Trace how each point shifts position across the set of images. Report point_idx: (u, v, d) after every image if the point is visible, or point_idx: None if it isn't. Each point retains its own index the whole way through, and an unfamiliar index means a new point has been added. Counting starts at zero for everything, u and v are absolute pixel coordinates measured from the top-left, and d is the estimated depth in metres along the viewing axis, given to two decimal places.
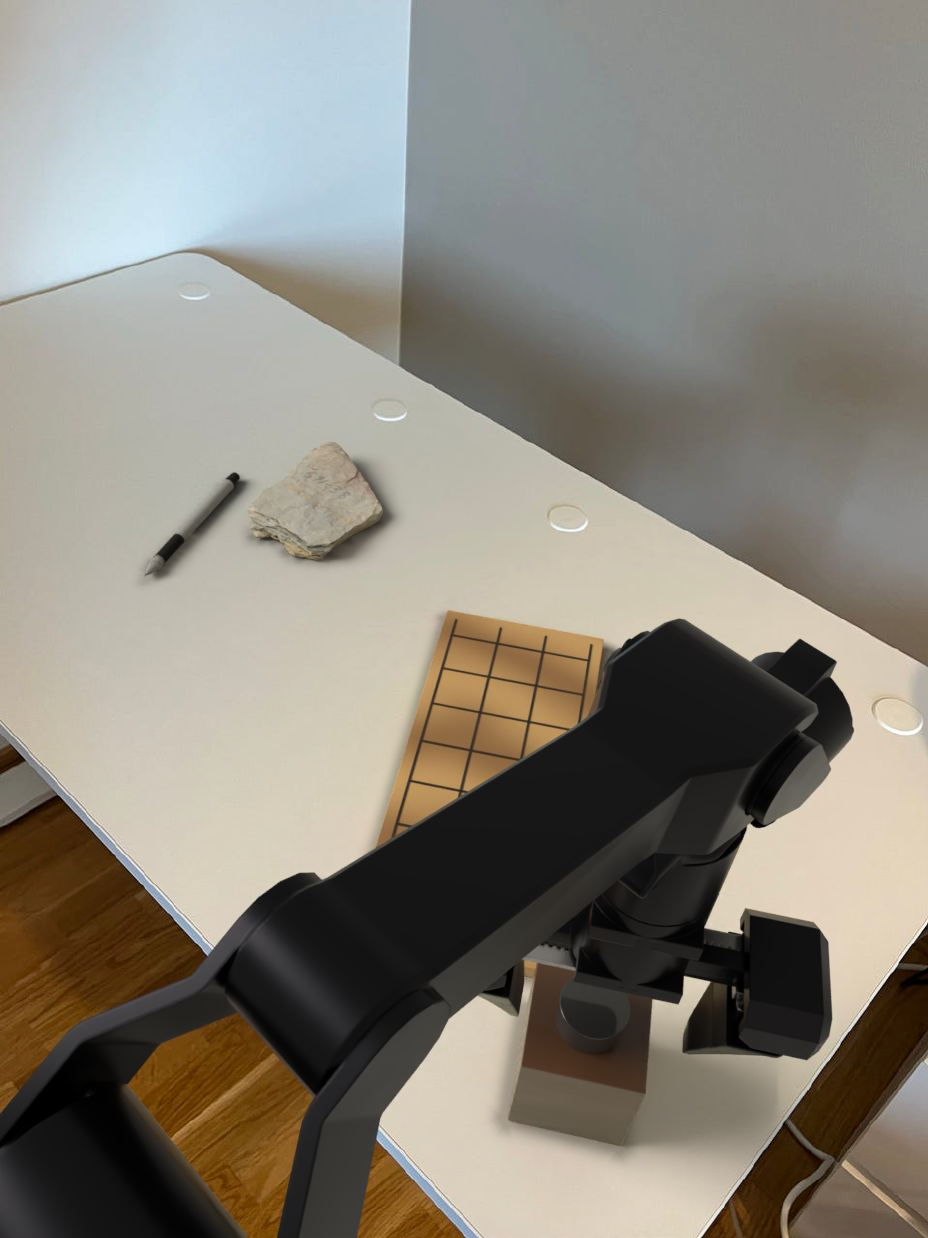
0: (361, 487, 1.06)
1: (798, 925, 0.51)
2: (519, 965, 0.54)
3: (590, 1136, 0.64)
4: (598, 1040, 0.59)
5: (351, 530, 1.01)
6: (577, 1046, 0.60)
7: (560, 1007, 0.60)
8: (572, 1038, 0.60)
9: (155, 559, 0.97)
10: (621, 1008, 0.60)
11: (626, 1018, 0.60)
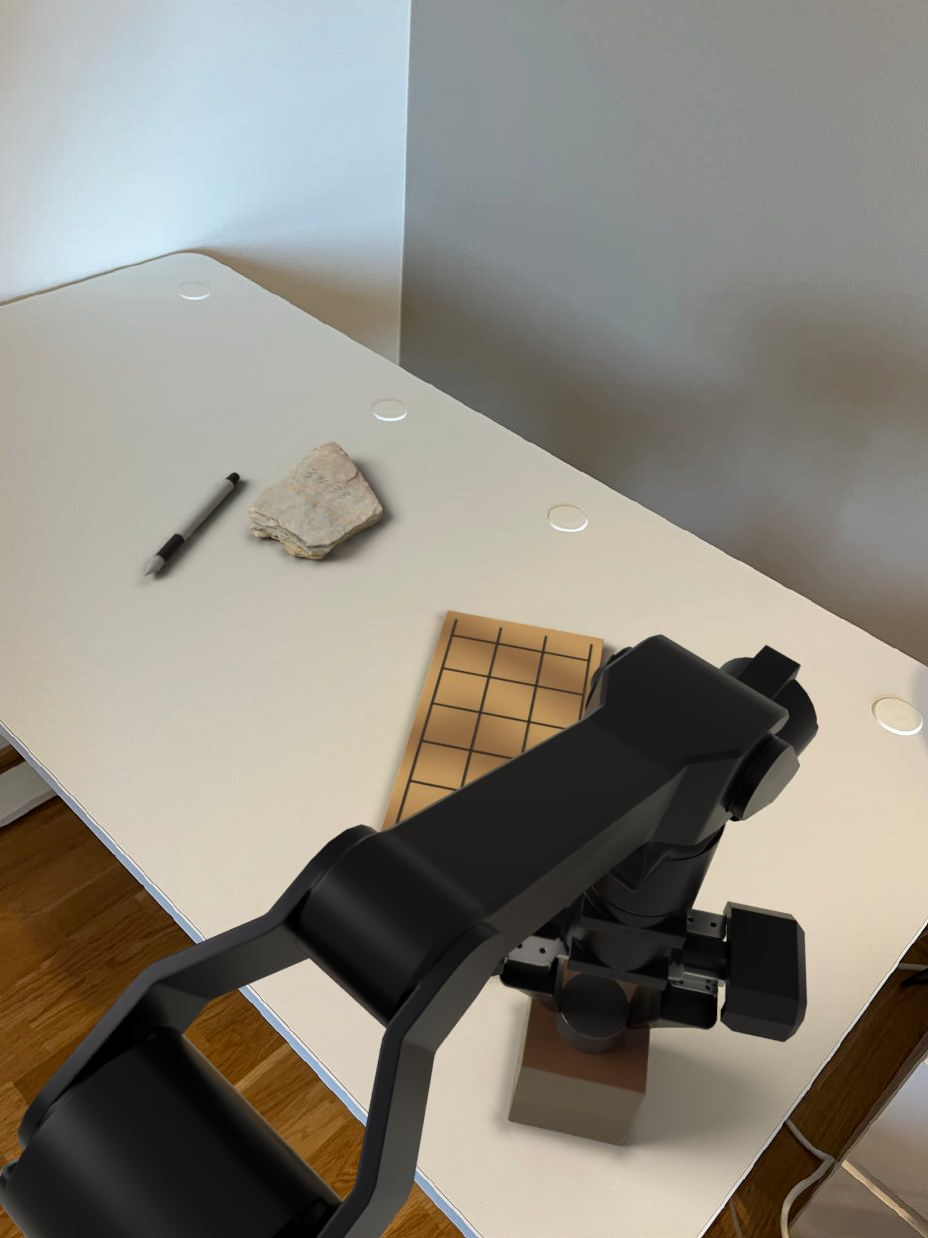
0: (361, 487, 1.06)
1: (776, 917, 0.55)
2: (560, 964, 0.58)
3: (590, 1136, 0.64)
4: (597, 1040, 0.59)
5: (351, 530, 1.01)
6: (577, 1046, 0.60)
7: (560, 1007, 0.60)
8: (572, 1038, 0.60)
9: (155, 559, 0.97)
10: (621, 1008, 0.60)
11: (626, 1018, 0.60)
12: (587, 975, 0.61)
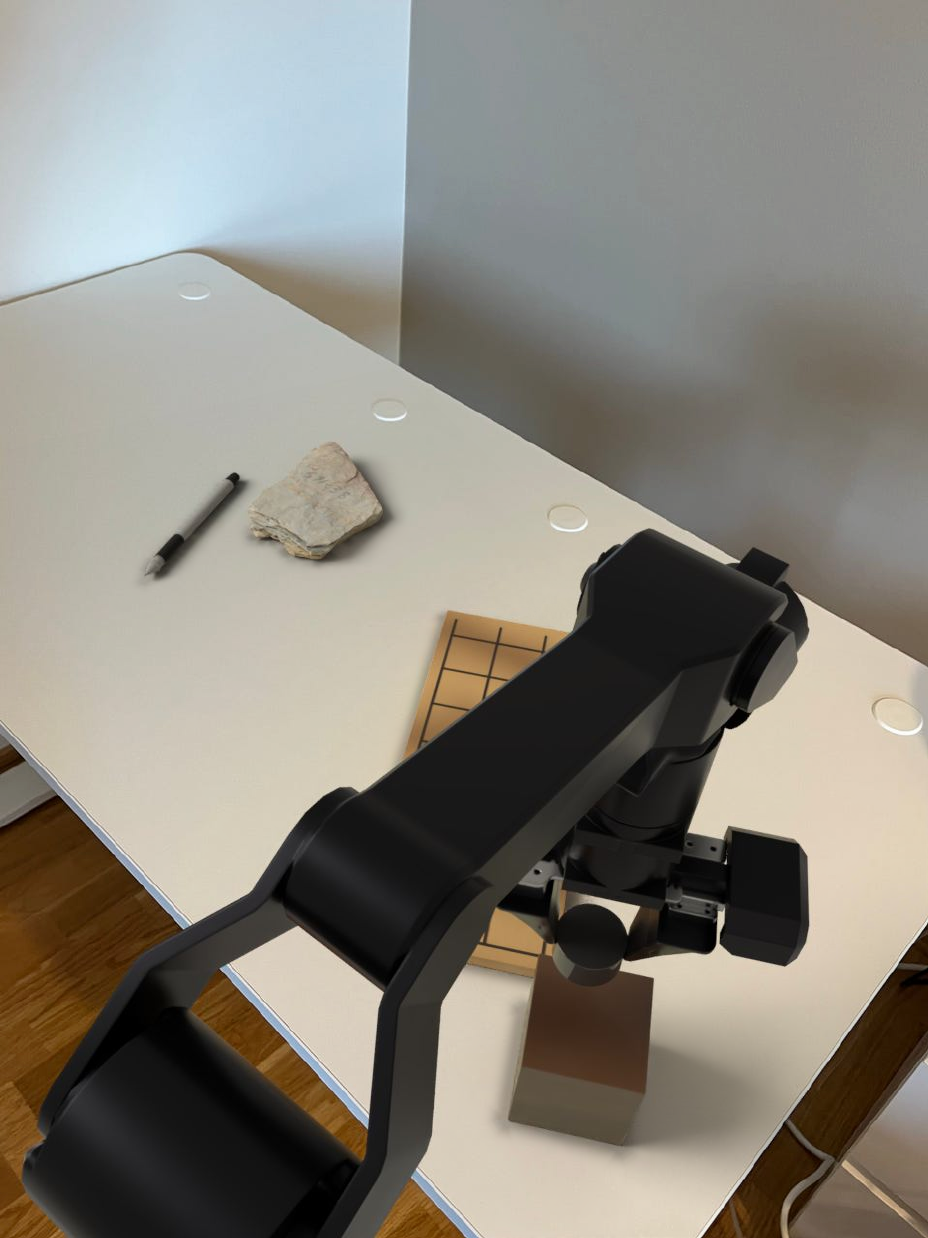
0: (361, 487, 1.06)
1: (778, 840, 0.53)
2: (556, 891, 0.56)
3: (590, 1136, 0.64)
4: (594, 971, 0.57)
5: (350, 530, 1.01)
6: (573, 978, 0.58)
7: (556, 938, 0.59)
8: (568, 969, 0.58)
9: (155, 559, 0.97)
10: (619, 939, 0.59)
11: (624, 949, 0.58)
12: (584, 907, 0.60)
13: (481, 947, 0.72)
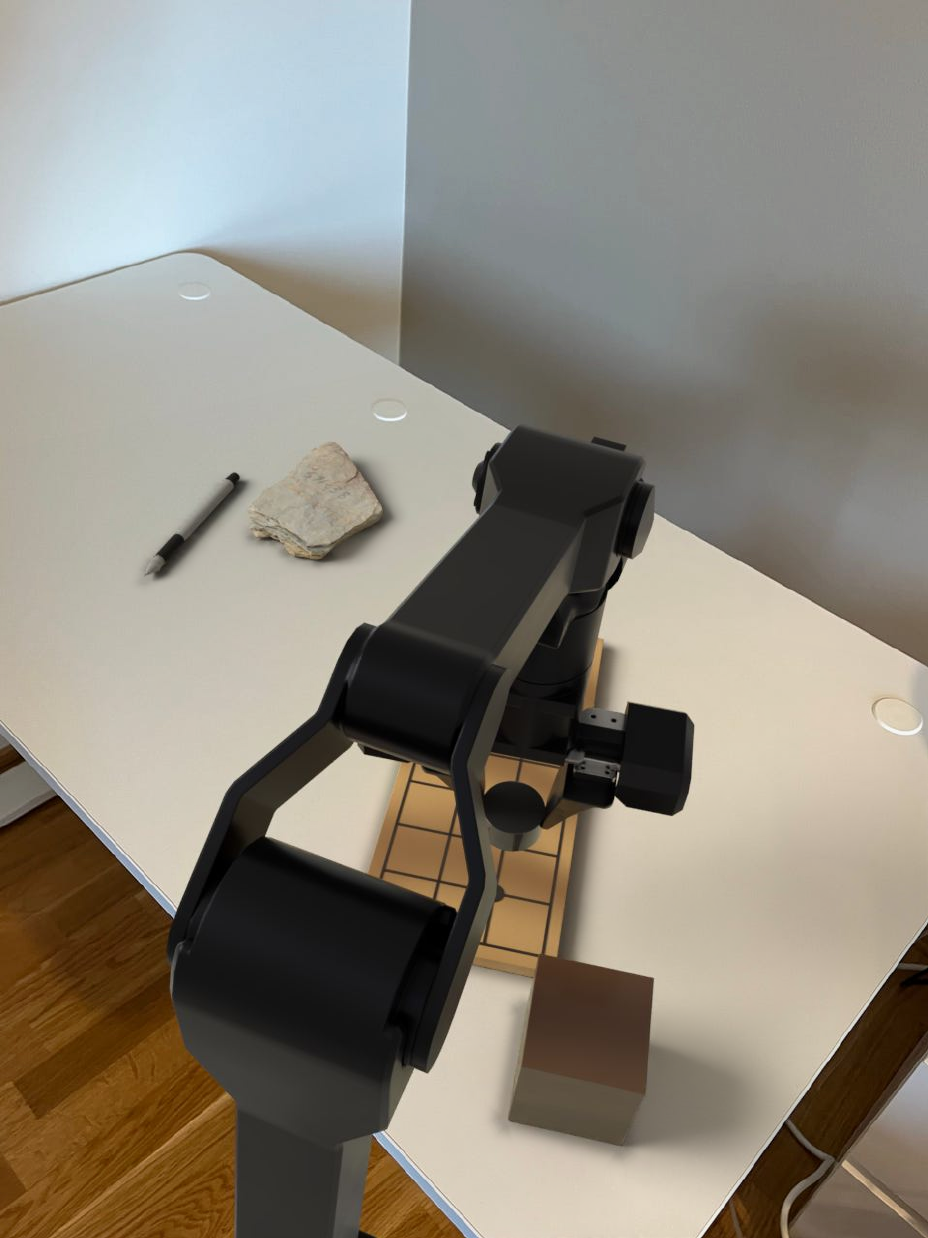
0: (361, 487, 1.06)
1: (669, 710, 0.61)
2: None
3: (590, 1136, 0.64)
4: (514, 834, 0.65)
5: (350, 530, 1.01)
6: (497, 843, 0.66)
7: None
8: (492, 835, 0.66)
9: (155, 559, 0.97)
10: (537, 809, 0.66)
11: (541, 817, 0.66)
12: (508, 783, 0.68)
13: (481, 947, 0.72)
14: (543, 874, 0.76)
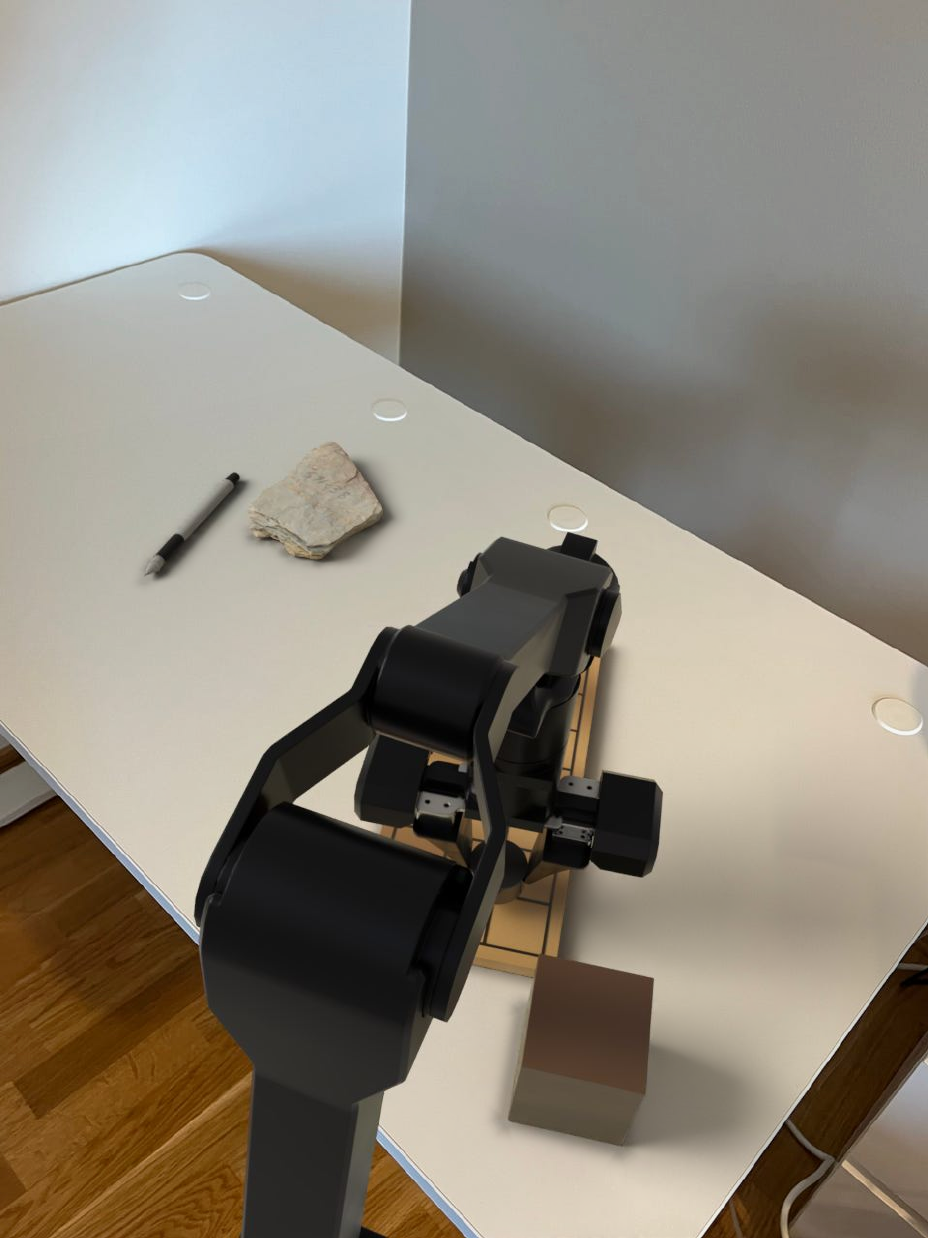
0: (361, 487, 1.06)
1: (639, 779, 0.66)
2: (466, 824, 0.69)
3: (590, 1136, 0.64)
4: (499, 890, 0.71)
5: (350, 530, 1.01)
6: None
7: (469, 865, 0.72)
8: None
9: (155, 559, 0.97)
10: (520, 865, 0.72)
11: (524, 873, 0.72)
12: None
13: (481, 947, 0.72)
14: None
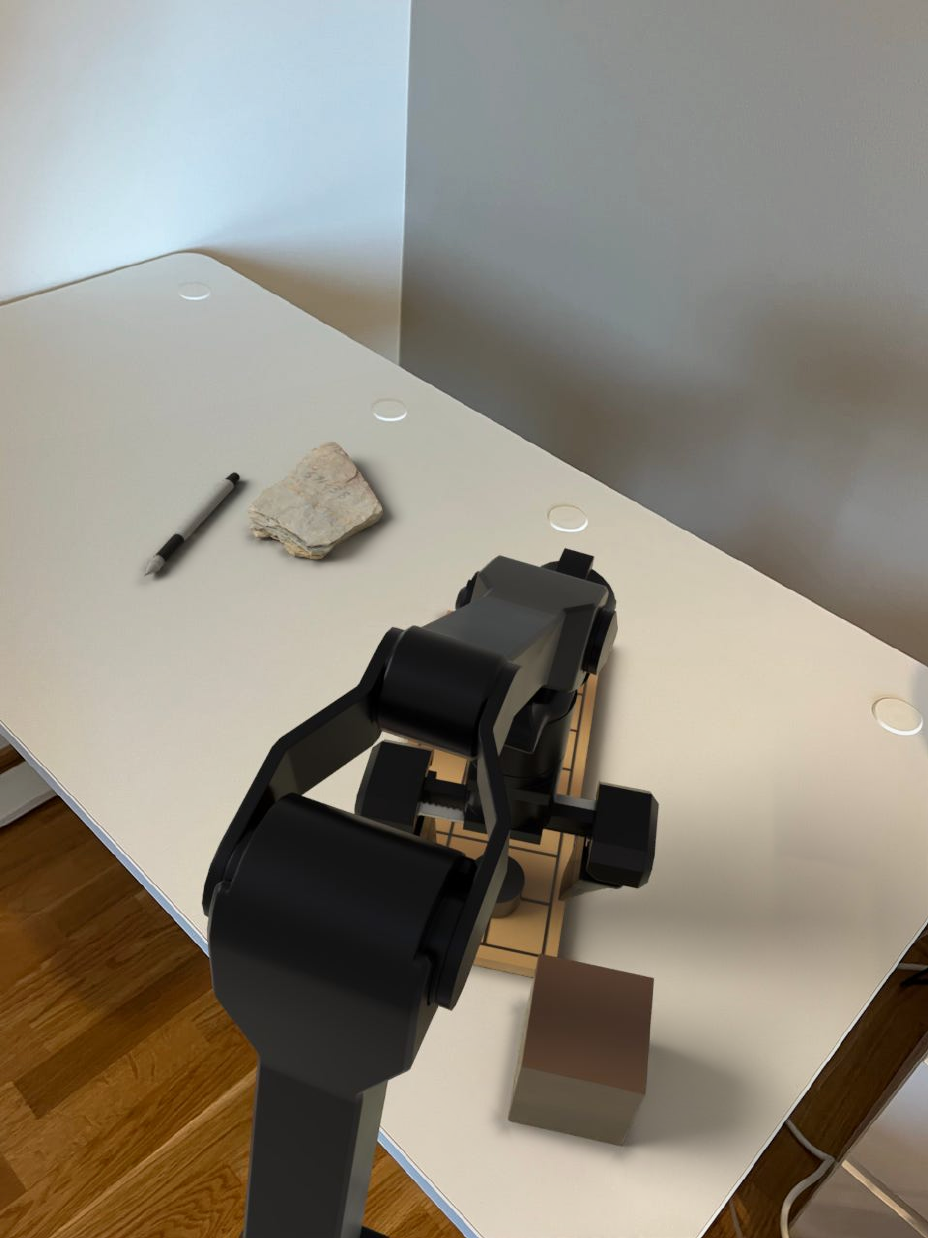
0: (361, 487, 1.06)
1: (636, 791, 0.67)
2: (429, 828, 0.71)
3: (590, 1136, 0.64)
4: (497, 904, 0.72)
5: (350, 530, 1.01)
6: None
7: None
8: None
9: (155, 559, 0.97)
10: (518, 880, 0.73)
11: (521, 887, 0.73)
12: None
13: (481, 947, 0.72)
14: (543, 874, 0.76)
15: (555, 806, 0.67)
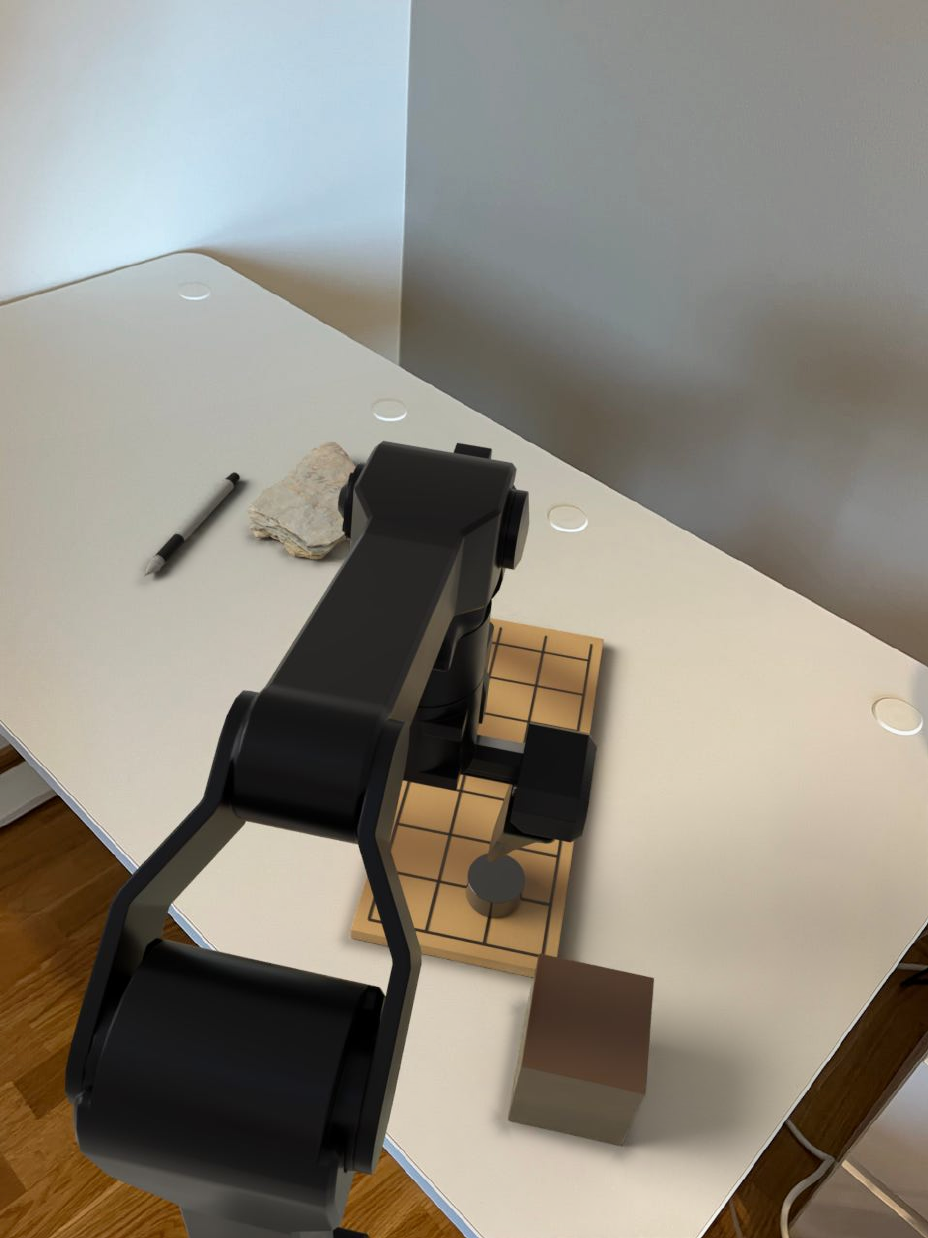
0: None
1: (570, 732, 0.59)
2: None
3: (590, 1136, 0.64)
4: (497, 904, 0.72)
5: None
6: (481, 911, 0.73)
7: (467, 879, 0.73)
8: (477, 904, 0.73)
9: (155, 559, 0.97)
10: (518, 880, 0.73)
11: (521, 887, 0.73)
12: None
13: (481, 947, 0.72)
14: (543, 874, 0.76)
15: (477, 748, 0.58)
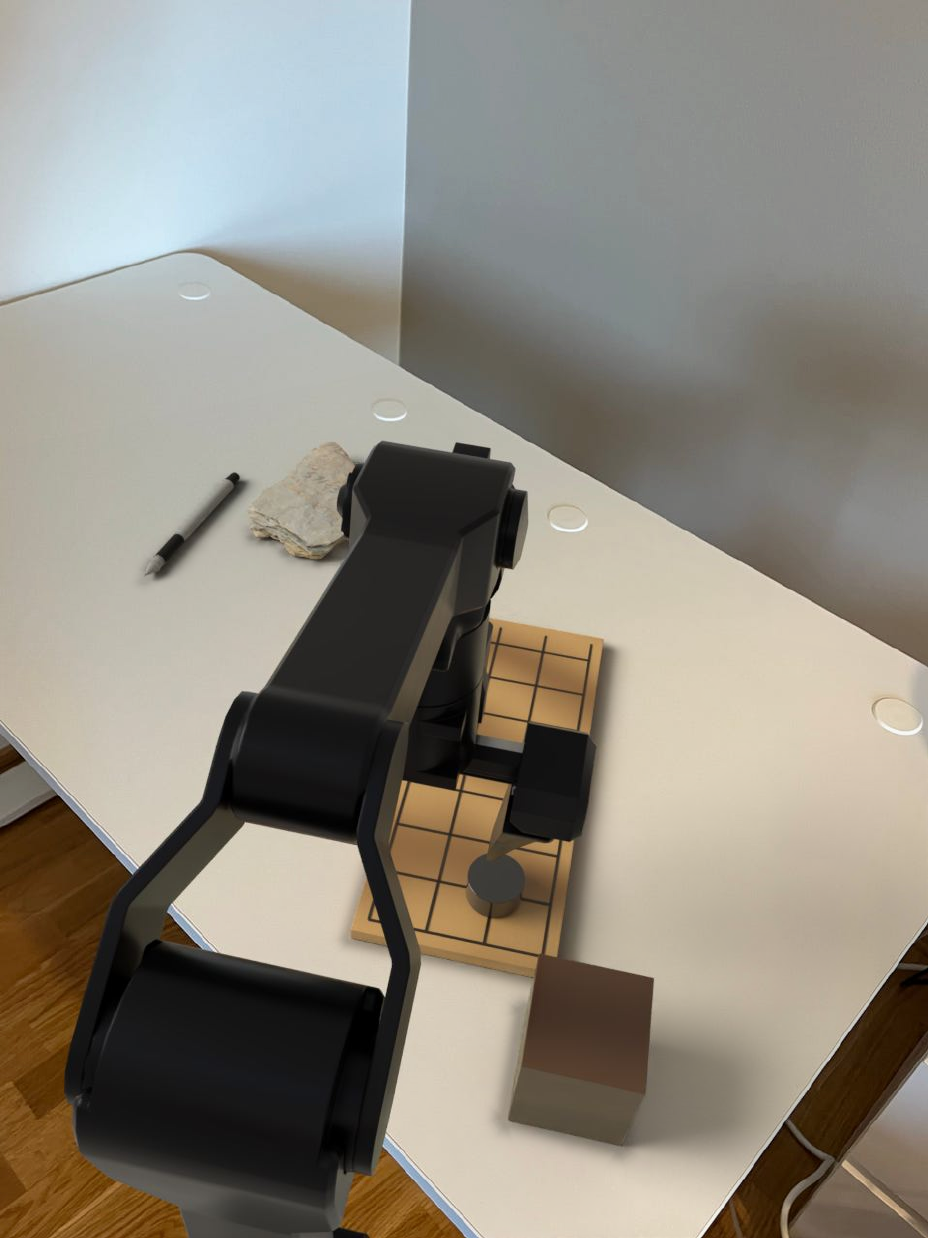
0: None
1: (569, 731, 0.59)
2: None
3: (590, 1136, 0.64)
4: (497, 904, 0.72)
5: None
6: (481, 911, 0.73)
7: (467, 879, 0.73)
8: (477, 904, 0.73)
9: (155, 559, 0.97)
10: (518, 880, 0.73)
11: (521, 887, 0.73)
12: None
13: (481, 947, 0.72)
14: (543, 874, 0.76)
15: (476, 748, 0.58)
